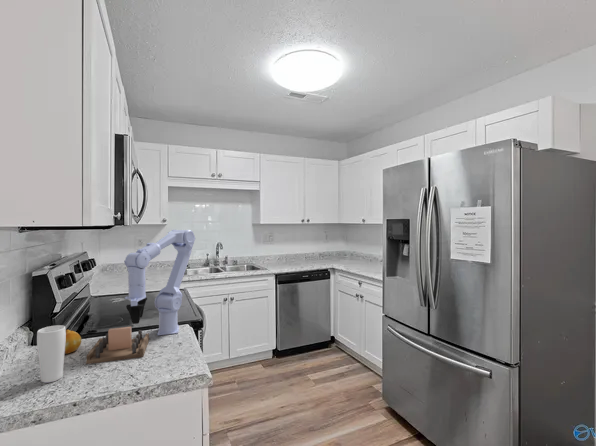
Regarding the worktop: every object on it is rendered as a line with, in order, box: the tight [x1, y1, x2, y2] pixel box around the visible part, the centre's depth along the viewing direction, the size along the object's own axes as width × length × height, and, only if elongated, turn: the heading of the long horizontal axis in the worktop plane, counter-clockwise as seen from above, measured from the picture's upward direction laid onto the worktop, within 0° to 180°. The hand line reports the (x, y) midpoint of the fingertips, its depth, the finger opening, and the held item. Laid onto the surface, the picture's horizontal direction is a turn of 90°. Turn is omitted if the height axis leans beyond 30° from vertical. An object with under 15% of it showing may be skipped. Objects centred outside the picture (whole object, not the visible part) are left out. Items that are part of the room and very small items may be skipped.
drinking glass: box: [36, 324, 67, 384], centre depth 94 cm, size 7×7×15 cm
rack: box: [85, 329, 150, 365], centre depth 114 cm, size 16×17×5 cm
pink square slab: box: [107, 326, 133, 350], centre depth 114 cm, size 2×7×7 cm, turn 108°
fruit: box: [65, 329, 82, 355], centre depth 114 cm, size 8×8×8 cm
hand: (137, 320), depth 120 cm, fingers open, 7 cm apart
